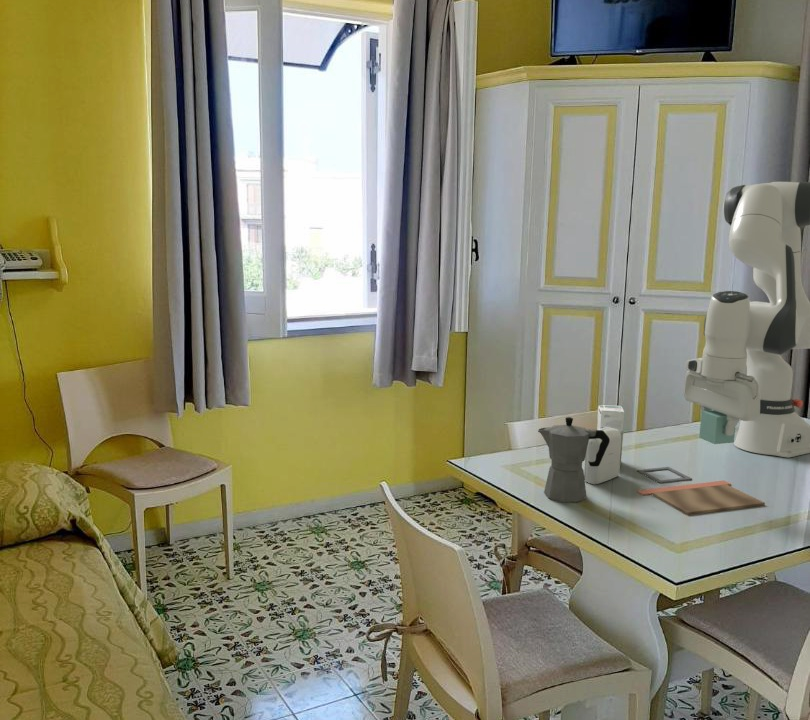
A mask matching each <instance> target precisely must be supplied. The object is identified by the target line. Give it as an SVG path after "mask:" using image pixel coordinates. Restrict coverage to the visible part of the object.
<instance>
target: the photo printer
mask: <svg viewBox="0 0 810 720" xmlns="http://www.w3.org/2000/svg"><path fill="white" fill-rule="evenodd" d="M599 430H602V431H604V432H605V433H606V435H607V436H608V437H609V439H610V442H609V445H608V447H607V449H606V451H605V453H604V456H603V458H602V460H601V462H600V465H599V466H590V464H589V462H594V461H595V460H596V454H597V452H598V451H599V446H600V443H601V442H602V440H601V439H600V438H597V439H589V442H588V446H587V451H586V456H585V460H584V479H585V483H587V482H588V483H587V484H589V483H591V484H590V485H598V484H601V483H604V482H607V481H609V480H612V479H615V478H616V477H619V475H620V469H621V468H620V467H621V466H620V455H621V433H620V432H619V430H617V429H614V428H610V427H606V428H601V429H599ZM621 456H622V455H621Z"/></svg>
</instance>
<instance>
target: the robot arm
mask: <svg viewBox="0 0 810 720" xmlns="http://www.w3.org/2000/svg"><path fill="white" fill-rule="evenodd" d="M723 200H724V201H723V203H722V212H723V217H724V221H725V222H726V223H728V225H729V226H730V228H729V234H728V235H729V236H728V246H729V249H730V252H731V253H732V254H733V255H734V257H735V258H736V259H737V260H738V261H740V262H741V263H743V264H744V265H746V266H749V267H751V268H753V270H752V271H753V272H752V275H753V276H752V278H753V282H754V284H755V285H756V286H757V287H758V288H759V289H761V290H762V291H763V292H764V293H765V296H767V298H768V300H769V302H766V301H757V300H756V301H751V300H750V296H749V295H748V294H746V293H743V292H741V291H735V290H724V291H718V292H716V293H714V294H712V295H711V297H710V299H709V300H710V301H709V304H708V309H707V312H706V314H705V316H704V323H703V324H704V325H703V336H704V338H705V345H704V347H703V351H702V356H701V357H698V358H693V359H688V360H686V362H685V369H686V370H687V371H686V373H685V376H684V383H683V384H684V385H683V396H684V398H685V401H687V402H690V403H693V404H696V405H697V406H699V412H700V414H701V413H702V411H712V410H715V411H718V412H720V413H723V414H726V415H727V420H729V421H728V423H727V425H726V426H723V431H722V433H723V434H725V435H727V436H731V435H733V434H734V427H735V428H736V427H737V425H738V423H739V427H738V430H737V433H736V436H735V438H734V443H733V445H734V446H735V447H737V448H738V449H740V450H743V451H746V452H750V453H755V454H760V455H768V456H769V455H770V456H777V457H782V458H792V457H798V456H801V455H802V456H803V455H806V454H810V424H809V423H808V422H807V421H806V420H804V419H803V418H802V417H801V416H800V415H799V414H798V413H797V412H795V410H796V409H795V407H796V408H802V407H803V406H804V401H803V400H801V399H798V398H794V399H793V398H792V397H791V396H792V389H793V388H792V387H793V378H794V371H793V368H792V366H791V365H790V364H789V363H788V362H787V361H785V360H784V359H783V357H782V355H783V354H786V353H787V352H789V351H791V350H806V349H809V350H810V300H809V298H808V296H807V294H806V292H805V289H804V285H803V282H802V281H803V280H802V234H801V232H802V231H801V230H803V229H805V228H806V226H810V181H803V180H801V181H800V182H796V181H772V182H765V183H755V184H749V185H746V184H741V185H737V186H733V187H732V188H730V190H728V192H726V195H725V197H724V199H723Z"/></svg>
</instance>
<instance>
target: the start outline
mask: <svg viewBox="0 0 810 720" xmlns="http://www.w3.org/2000/svg"><path fill="white" fill-rule="evenodd" d="M657 470H659V471H667V470H668V471H669V472H670V473H674V474H676V475H677V476H680V478H671V479H669V478H668V479H659V478H657V477H655V476H654V475H652V474H649V473H648V472H646V471H649V472H657ZM636 472H638V473H639V472H640V474H641V473H642V475H643V474H644V475H643V476H645V475H646V476H645V477H647V476H648V477H647V478H649V479H651V480H653V481H654V480H655V482H656V481H657V482H656V483H659V484H664V483H665V484H667V483H675V482H683V481H690V480H691V481H692V480H693V478H692V477H690V476H688V475H686V474H684V473H682V472H679V471H678V470H676V469H674V468H671V467H669V466H665V467H664V466H662V467H655V468H645V469H644V468H643V469H637V470H636Z"/></svg>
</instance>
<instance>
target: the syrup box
mask: <svg viewBox="0 0 810 720" xmlns="http://www.w3.org/2000/svg"><path fill="white" fill-rule="evenodd" d="M625 413H626V412H625V410H624V408H623V407H622V406H621V405H610V404H609V405H604V404H599V405H598V407H597V418H596V419H597V420H596V430H599V429H601V428H606V427H610V428H614V429H617V430H619V432H620V433H621V455H620V467H622V466H621V465H622V454H623V451H622V450H623V439H624V428H625V427H624V426H625V416H626V415H625Z"/></svg>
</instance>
